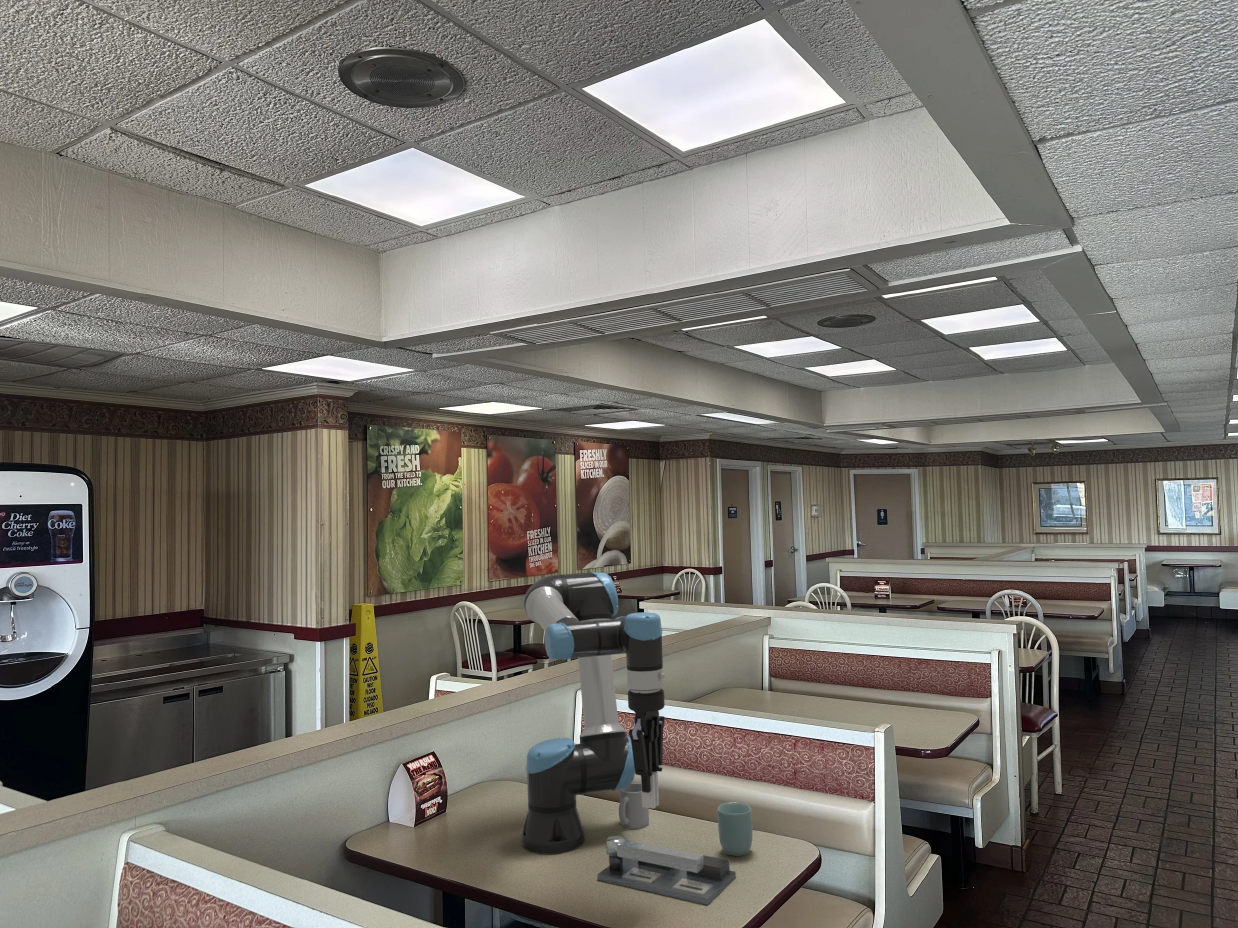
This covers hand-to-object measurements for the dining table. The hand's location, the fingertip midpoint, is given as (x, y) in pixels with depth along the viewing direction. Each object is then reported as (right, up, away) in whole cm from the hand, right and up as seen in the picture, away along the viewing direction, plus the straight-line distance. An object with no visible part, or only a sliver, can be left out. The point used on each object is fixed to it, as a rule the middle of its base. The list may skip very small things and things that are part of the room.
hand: (650, 805), depth 171 cm
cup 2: (+20, -19, +20) cm, 34 cm away
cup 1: (-3, -21, +39) cm, 44 cm away
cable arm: (+1, -14, +7) cm, 16 cm away
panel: (+4, -19, +8) cm, 21 cm away
